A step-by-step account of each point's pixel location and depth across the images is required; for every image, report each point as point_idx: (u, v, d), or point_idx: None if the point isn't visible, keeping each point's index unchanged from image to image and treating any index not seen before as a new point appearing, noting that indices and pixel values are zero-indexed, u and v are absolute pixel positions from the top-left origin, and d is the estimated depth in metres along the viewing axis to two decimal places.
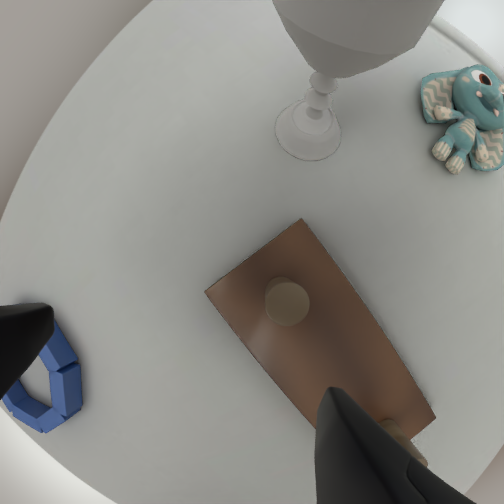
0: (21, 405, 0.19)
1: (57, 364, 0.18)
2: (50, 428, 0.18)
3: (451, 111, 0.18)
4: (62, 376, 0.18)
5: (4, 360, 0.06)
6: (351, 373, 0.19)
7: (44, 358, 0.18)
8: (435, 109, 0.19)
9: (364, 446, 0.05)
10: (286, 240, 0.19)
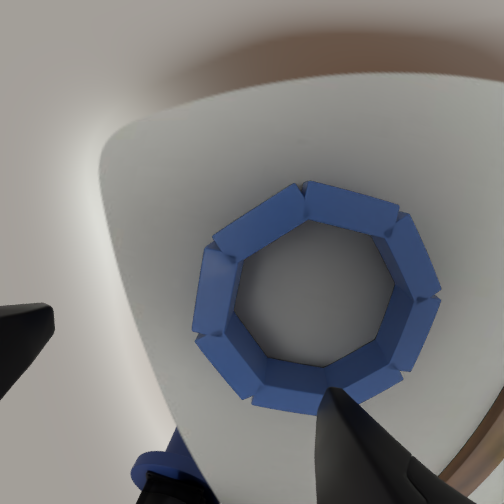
0: (235, 339, 0.14)
1: (411, 366, 0.13)
2: (278, 408, 0.14)
3: None
4: None
5: (4, 360, 0.06)
6: (481, 468, 0.16)
7: (403, 347, 0.13)
8: None
9: (364, 446, 0.05)
10: None
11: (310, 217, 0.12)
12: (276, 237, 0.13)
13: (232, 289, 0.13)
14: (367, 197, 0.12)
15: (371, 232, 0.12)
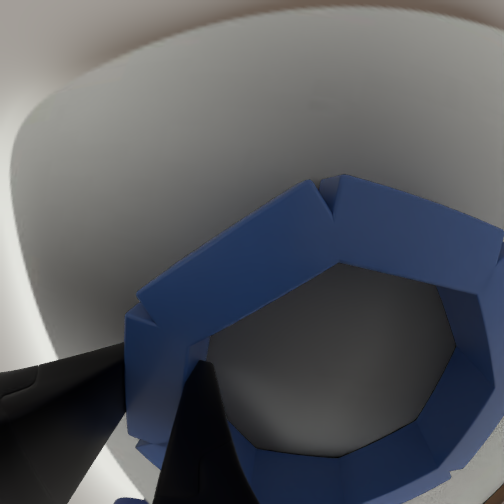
0: None
1: (465, 463, 0.06)
2: None
3: None
4: (446, 480, 0.06)
5: (103, 417, 0.06)
6: None
7: (463, 446, 0.06)
8: None
9: (178, 415, 0.05)
10: None
11: (344, 258, 0.05)
12: (267, 301, 0.06)
13: None
14: (457, 214, 0.05)
15: (458, 285, 0.05)
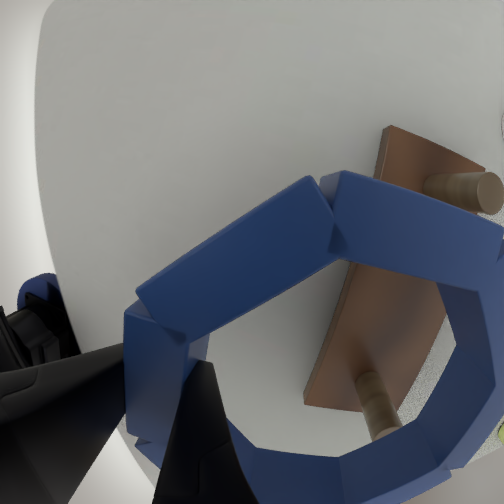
0: None
1: (466, 461, 0.06)
2: None
3: None
4: (446, 479, 0.06)
5: (103, 417, 0.06)
6: (408, 305, 0.18)
7: (464, 444, 0.06)
8: None
9: (177, 414, 0.05)
10: (468, 167, 0.15)
11: (345, 254, 0.05)
12: (267, 297, 0.06)
13: (183, 386, 0.06)
14: (457, 211, 0.05)
15: (459, 282, 0.05)
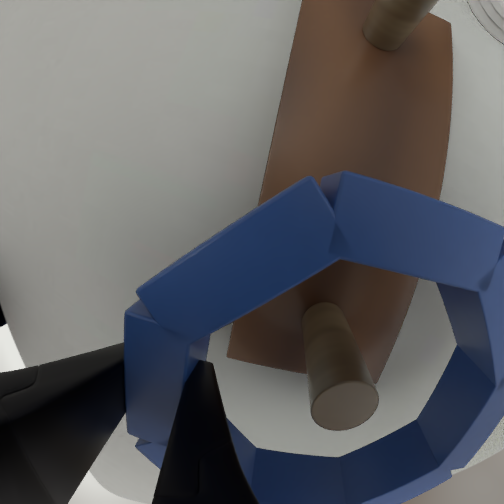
0: None
1: (466, 462, 0.06)
2: None
3: None
4: (447, 479, 0.06)
5: (103, 417, 0.06)
6: None
7: (464, 444, 0.06)
8: None
9: (177, 415, 0.05)
10: (424, 17, 0.09)
11: (345, 255, 0.05)
12: (268, 298, 0.06)
13: None
14: (458, 211, 0.05)
15: (460, 282, 0.05)
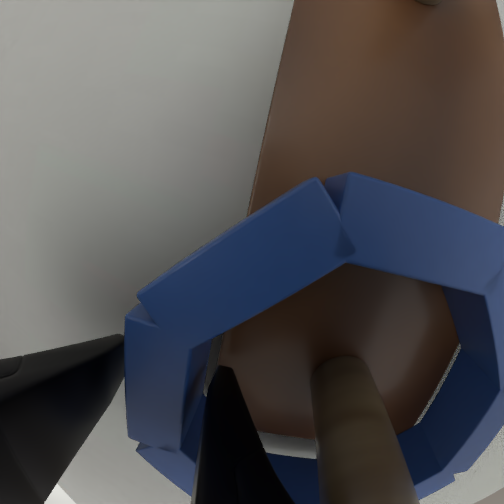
0: None
1: (469, 465, 0.06)
2: None
3: None
4: None
5: (85, 408, 0.06)
6: (418, 188, 0.07)
7: (468, 448, 0.06)
8: None
9: (206, 423, 0.05)
10: None
11: (351, 258, 0.05)
12: (272, 302, 0.05)
13: (185, 392, 0.06)
14: (465, 213, 0.05)
15: (466, 286, 0.05)
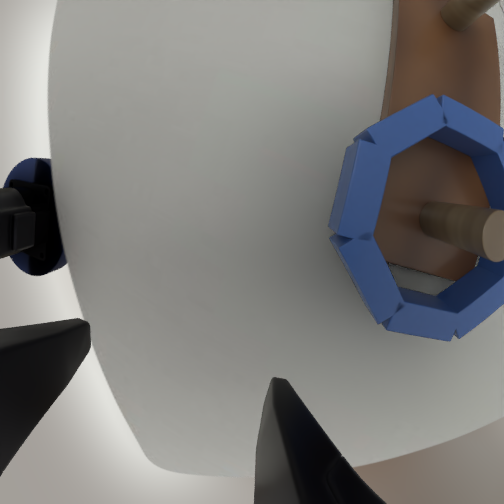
0: None
1: None
2: (412, 332, 0.13)
3: None
4: None
5: (41, 384, 0.06)
6: None
7: None
8: None
9: (286, 439, 0.05)
10: None
11: (447, 125, 0.11)
12: (423, 137, 0.11)
13: (385, 185, 0.12)
14: (483, 117, 0.10)
15: (489, 145, 0.10)
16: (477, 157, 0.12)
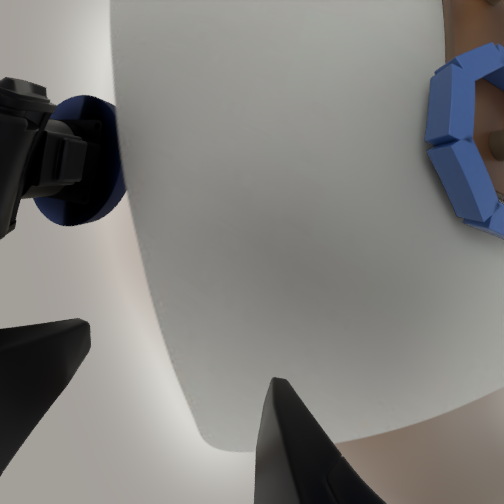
0: None
1: None
2: None
3: None
4: None
5: (41, 384, 0.06)
6: None
7: None
8: None
9: (286, 439, 0.05)
10: None
11: None
12: (492, 70, 0.10)
13: (474, 100, 0.10)
14: None
15: None
16: None
